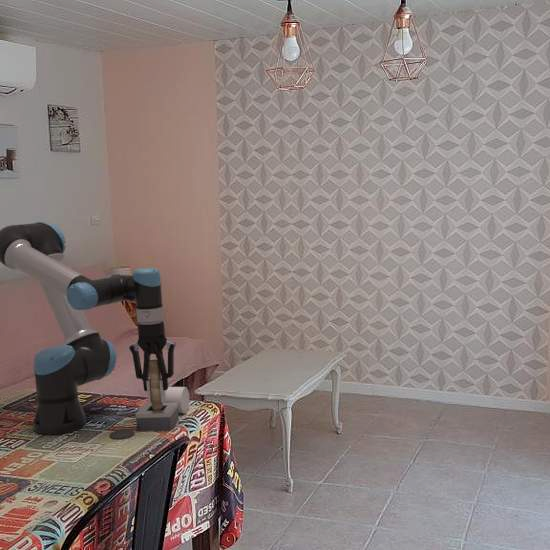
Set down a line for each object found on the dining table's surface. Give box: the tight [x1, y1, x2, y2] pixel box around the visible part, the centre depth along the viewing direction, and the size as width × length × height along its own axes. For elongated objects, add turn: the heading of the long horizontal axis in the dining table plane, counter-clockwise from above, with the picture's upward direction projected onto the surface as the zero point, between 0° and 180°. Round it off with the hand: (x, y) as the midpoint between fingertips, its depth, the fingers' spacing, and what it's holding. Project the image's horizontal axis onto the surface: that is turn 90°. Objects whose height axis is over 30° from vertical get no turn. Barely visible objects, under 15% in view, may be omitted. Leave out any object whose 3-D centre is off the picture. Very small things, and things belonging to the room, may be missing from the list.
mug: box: [151, 386, 190, 414], centre depth 233 cm, size 12×10×8 cm
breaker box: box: [135, 402, 180, 432], centre depth 219 cm, size 10×10×5 cm
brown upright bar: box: [148, 359, 163, 411], centre depth 218 cm, size 3×3×17 cm
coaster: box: [109, 428, 135, 441], centre depth 213 cm, size 7×7×1 cm
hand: (157, 401), depth 219 cm, fingers closed on brown upright bar, 3 cm apart
